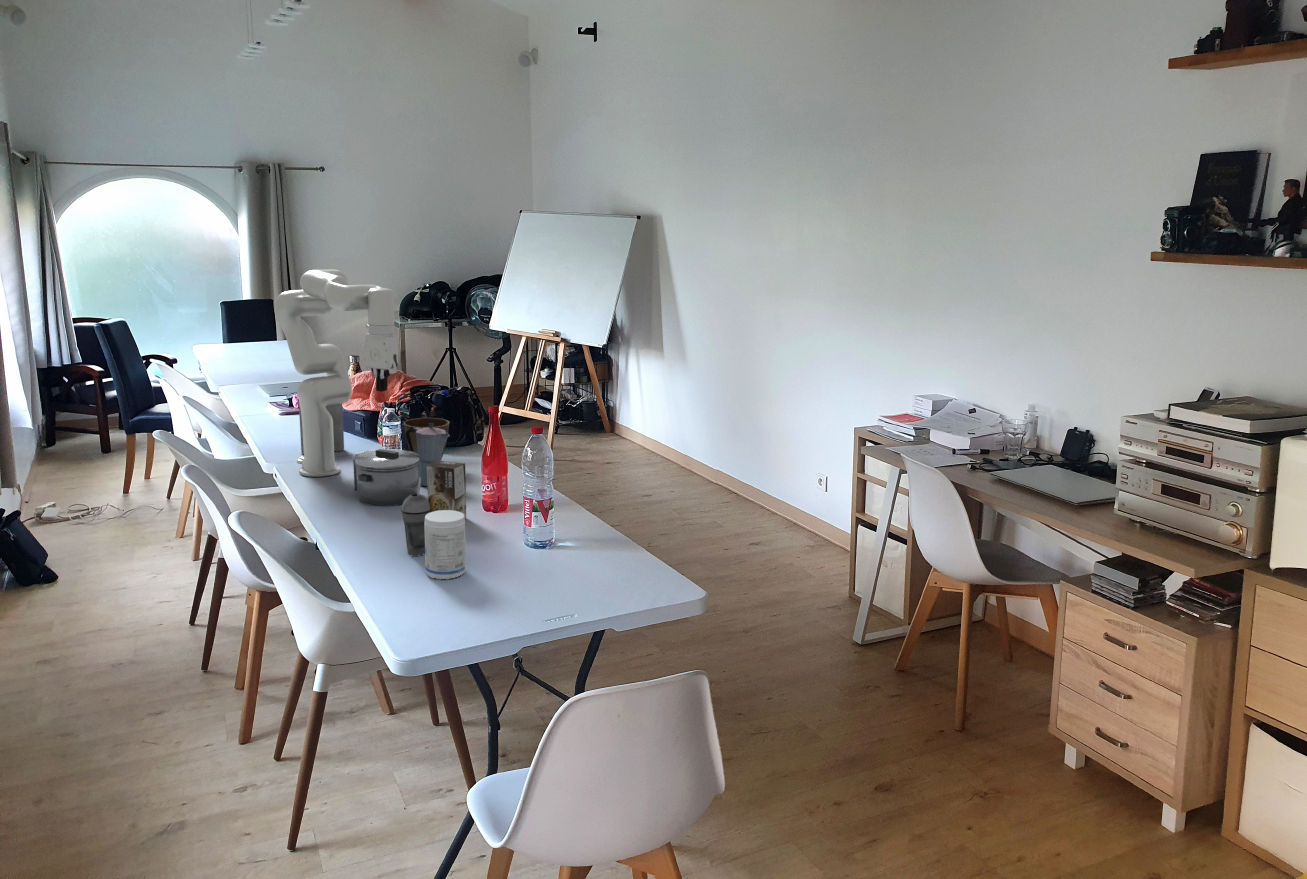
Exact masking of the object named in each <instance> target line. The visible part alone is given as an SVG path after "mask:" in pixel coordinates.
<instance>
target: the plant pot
mask: <svg viewBox="0 0 1307 879" xmlns="http://www.w3.org/2000/svg"><path fill="white" fill-rule="evenodd" d="M429 423H434V424H433V428H439V429H443V430H445V431H446V432H447V433H448V434H449V428H450V421H449V420H447V419H444V418H438V417H437V418H436V417H418V418H412V419H411V418H410V419H407V420H405V421H404V422H403V425H404V432H405V434H406V431H407V430H408V429H409V428H410V426H412V427H415V428H420V429H422V428H429ZM409 435H410V438H411V443H412V448H413V450H414V452H416V453H418V449H417V439H416V434H415V433H413V432H410V433H409ZM447 440H448V439H447ZM447 440H446V442H445V444H444V447H443V453H442V459H443V456H444V453H445V450H446V445H447ZM406 441H407V440H406ZM407 445H408V449H409V450H408V451H410V448H409V444H408V441H407ZM442 459H441V461H443V460H442Z"/></svg>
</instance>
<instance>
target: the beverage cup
mask: <svg viewBox="0 0 1307 879" xmlns="http://www.w3.org/2000/svg"><path fill="white" fill-rule="evenodd" d="M420 484H421V477H419V483H418V492H417V494H412V495H410V496H408V497H407V498H406V499H405V500H404V502H403V504H402V505H401V510H400V511H401V514H402V519H403V525H404V533H405V539H406V540H405V541H406V548H407V554H409V555H408V556H410V555H412V556H411V557H419V556H418V555H422V556H424V555H423V554H425V526H424V524H425V523H424V522H425V516H426V515H427V514H428V513H430V511H431V508H430V504H429V502H428V498H426V496H424V495H423V494H420V492H421V485H420Z"/></svg>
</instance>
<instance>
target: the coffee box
mask: <svg viewBox="0 0 1307 879" xmlns="http://www.w3.org/2000/svg"><path fill="white" fill-rule="evenodd" d="M466 482H467V480H466V463H462V462H455V461H445V460H441V461H436V462H434V463H432V464H430V465H427V485H428V486H427V500H428V502H429V504H430V508H431V511H430V512H434V511H439V510H453V511H459V512H461V513H463V514H464V517H465V519H467V492H466V491H467V490H466V489H467V488H466V486H467V485H466Z"/></svg>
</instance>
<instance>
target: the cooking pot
mask: <svg viewBox="0 0 1307 879" xmlns="http://www.w3.org/2000/svg"><path fill="white" fill-rule="evenodd" d="M352 460H353V483H354V492H357V494H356V495H357V501H358V503H361V504H362V505H367V506H373V507H391V506H392V507H393V506H394V507H395V506H402V504H403V502H404V500H405V499H406V498H407V497H408V496H410V495H412V494H417V492H418V483H419V476H418V464H419V463H417V464H415V465H413V466H410V467H405V468H399V469H368V468H363V467H359V466H357V465H356V464H355V458H353V459H352Z"/></svg>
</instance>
